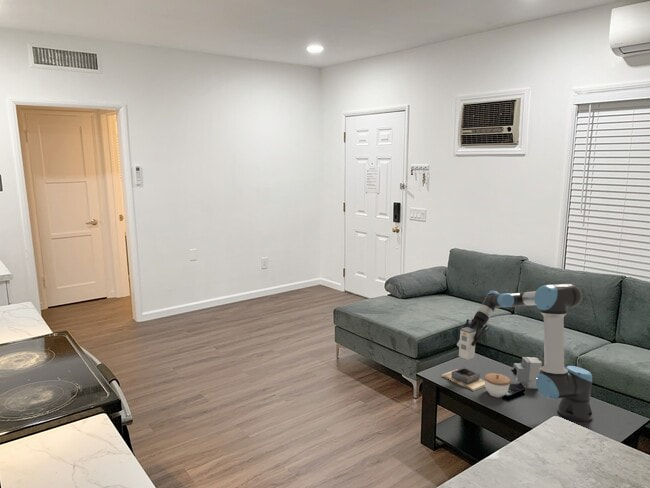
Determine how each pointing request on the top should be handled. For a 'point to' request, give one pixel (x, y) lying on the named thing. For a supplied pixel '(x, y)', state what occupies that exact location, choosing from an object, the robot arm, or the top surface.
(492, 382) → the lidded bowl
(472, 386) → the mount board
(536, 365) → the circuit breaker
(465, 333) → the power strip
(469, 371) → the socket collar
